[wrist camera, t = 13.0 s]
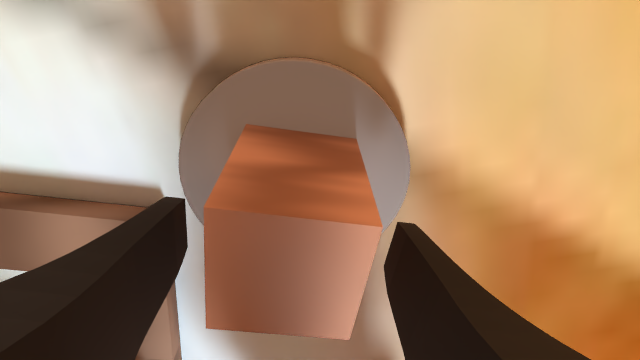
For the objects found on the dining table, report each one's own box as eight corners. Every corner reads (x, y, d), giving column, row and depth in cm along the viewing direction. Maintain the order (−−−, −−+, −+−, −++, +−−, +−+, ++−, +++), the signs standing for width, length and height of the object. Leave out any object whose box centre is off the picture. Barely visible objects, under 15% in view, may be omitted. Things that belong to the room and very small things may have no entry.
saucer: (432, 76, 14) (441, 82, 13) (377, 261, 18) (380, 275, 18) (180, 39, 13) (170, 42, 12) (190, 243, 18) (184, 256, 17)
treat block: (356, 138, 14) (383, 227, 9) (337, 226, 16) (349, 339, 11) (246, 123, 13) (203, 207, 8) (241, 215, 16) (205, 328, 10)
